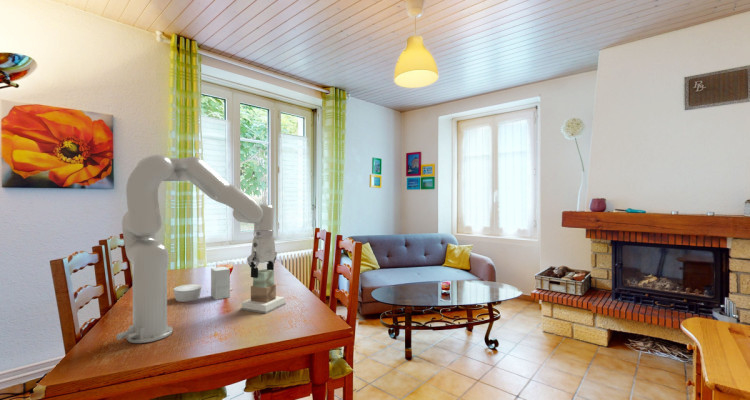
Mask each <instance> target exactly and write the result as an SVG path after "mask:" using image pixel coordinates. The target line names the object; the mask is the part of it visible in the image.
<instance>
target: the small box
mask: <svg viewBox="0 0 750 400" xmlns="http://www.w3.org/2000/svg"><path fill="white" fill-rule="evenodd" d="M210 297H212V298H213V299H214V300H216V301H217V300H220V299H221V300H223V299H228V298H230V297H231V269H230V268H229V267H226V266H217V267H211V268H210Z"/></svg>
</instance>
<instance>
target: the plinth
mask: <svg viewBox="0 0 750 400" xmlns="http://www.w3.org/2000/svg"><path fill="white" fill-rule="evenodd" d="M285 305H287V304H286V302H285V297H284V296H278V295H276V299H274V300H272V301H270V302H268V303H264V302H257V301H251V298H249V299H246V300H244V301H242V303H241V307H240V310H241V311H247V312H254V313H259V314H268V313H270V312H273V311H275V310H277V309H278V308H281V307H283V306H285Z"/></svg>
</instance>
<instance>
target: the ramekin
mask: <svg viewBox="0 0 750 400" xmlns="http://www.w3.org/2000/svg"><path fill="white" fill-rule="evenodd" d="M201 291H202V285H201V284H194V283H193V284H192V283H191V284H190V283H189V284H183V285H179V286H176V287H174V288H173V294H174V297H175V301H177V302H179V303H181V302H182V303H185V302H192V301H196V300H198V299H199V298H200V296H201Z"/></svg>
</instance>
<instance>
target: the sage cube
mask: <svg viewBox="0 0 750 400" xmlns="http://www.w3.org/2000/svg"><path fill="white" fill-rule="evenodd" d="M274 284H275V270H267V268H266V269H265V268H262V269H258V278H253V277H252V286H253V287H261V288H266V287H269V286H271V285H274Z"/></svg>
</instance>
